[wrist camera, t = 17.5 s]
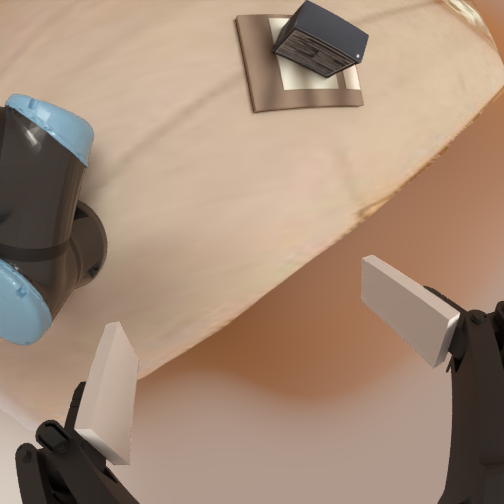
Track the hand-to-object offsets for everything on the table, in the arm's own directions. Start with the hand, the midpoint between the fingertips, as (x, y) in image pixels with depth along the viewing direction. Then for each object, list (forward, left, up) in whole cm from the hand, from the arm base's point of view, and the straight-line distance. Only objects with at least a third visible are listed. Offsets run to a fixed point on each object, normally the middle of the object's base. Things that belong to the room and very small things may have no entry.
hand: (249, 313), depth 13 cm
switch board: (+20, +22, -32) cm, 43 cm away
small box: (+20, +23, -30) cm, 43 cm away
